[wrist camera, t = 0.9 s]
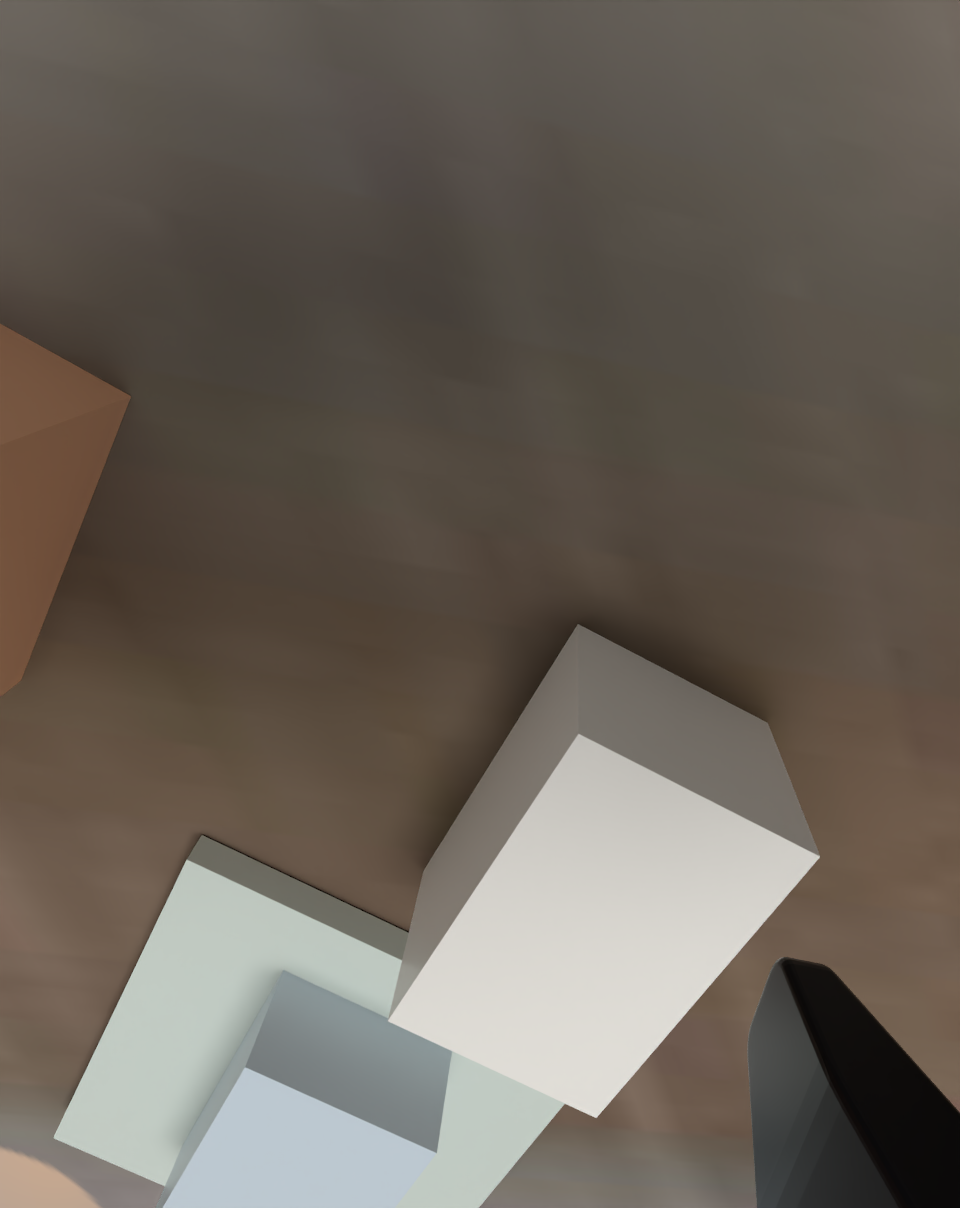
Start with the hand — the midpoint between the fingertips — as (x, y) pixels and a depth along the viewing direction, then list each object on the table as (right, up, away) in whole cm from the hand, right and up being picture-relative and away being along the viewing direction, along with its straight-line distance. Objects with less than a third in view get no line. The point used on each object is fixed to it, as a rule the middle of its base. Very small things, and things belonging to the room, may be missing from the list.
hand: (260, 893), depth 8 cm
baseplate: (-3, -11, +18) cm, 22 cm away
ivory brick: (+4, -2, +14) cm, 15 cm away
